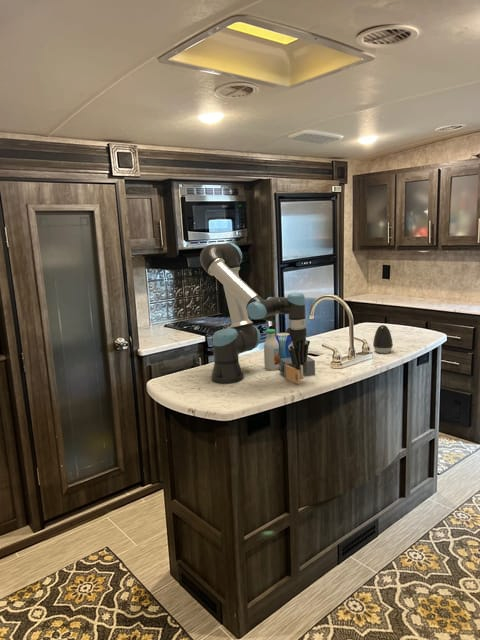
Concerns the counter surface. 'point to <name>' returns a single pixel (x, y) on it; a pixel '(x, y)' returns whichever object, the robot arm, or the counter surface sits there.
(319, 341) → the counter surface
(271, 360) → the milk bottle
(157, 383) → the counter surface
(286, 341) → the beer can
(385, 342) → the egg shaped speaker
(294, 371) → the side door
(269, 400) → the counter surface
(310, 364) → the camera body
